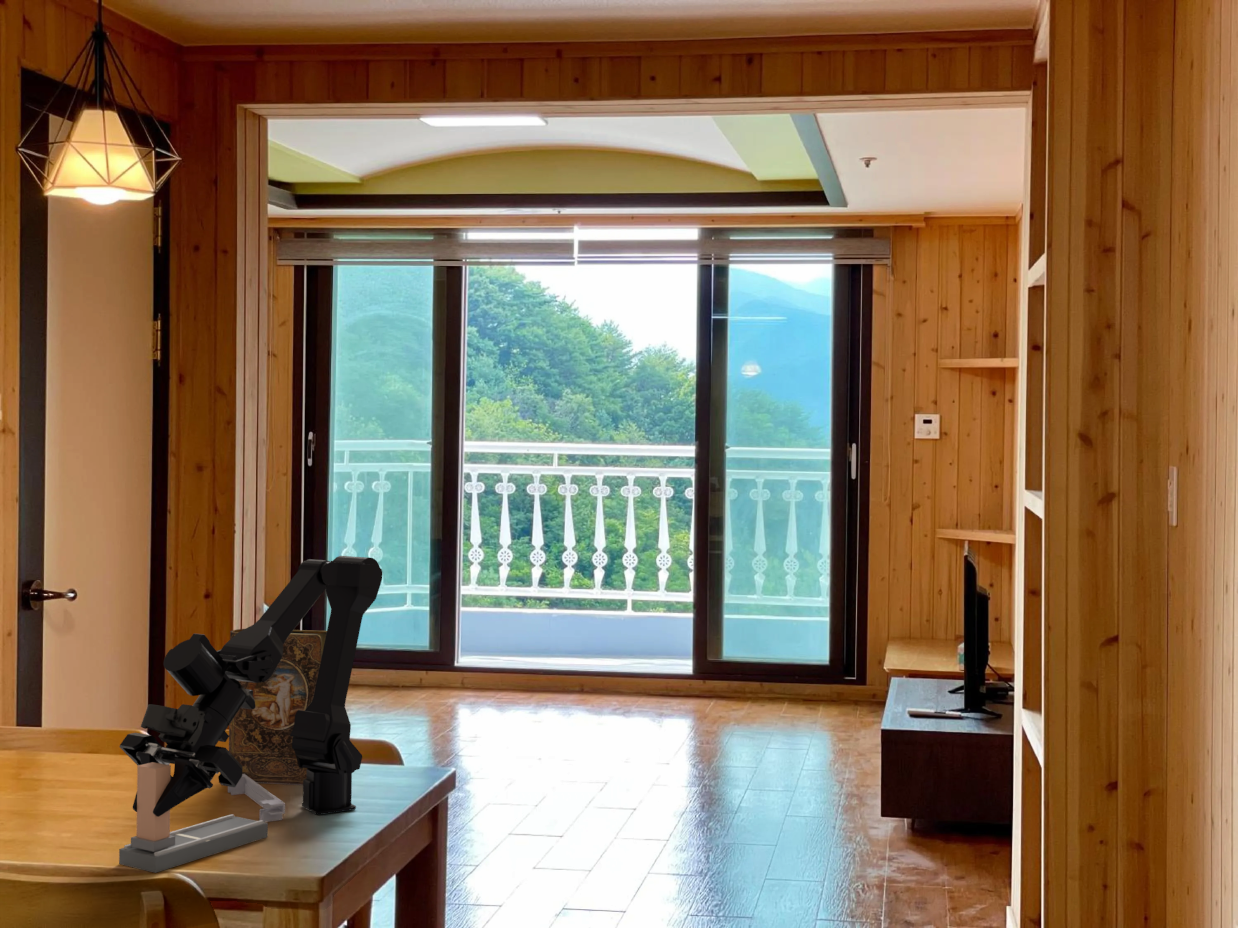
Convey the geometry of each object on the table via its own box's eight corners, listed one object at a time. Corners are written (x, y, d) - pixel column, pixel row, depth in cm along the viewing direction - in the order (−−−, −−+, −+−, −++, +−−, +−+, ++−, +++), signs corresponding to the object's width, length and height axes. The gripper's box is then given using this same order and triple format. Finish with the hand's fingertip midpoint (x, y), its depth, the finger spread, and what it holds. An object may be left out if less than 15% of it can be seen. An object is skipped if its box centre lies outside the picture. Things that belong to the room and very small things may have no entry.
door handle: (225, 794, 218) (226, 775, 218) (244, 792, 219) (244, 773, 219) (265, 825, 199) (265, 805, 199) (284, 823, 201) (285, 803, 201)
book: (223, 781, 225) (226, 632, 225) (236, 774, 230) (238, 628, 230) (319, 785, 223) (321, 634, 223) (329, 777, 229) (332, 630, 229)
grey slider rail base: (232, 829, 196) (232, 812, 196) (267, 836, 193) (267, 819, 193) (119, 863, 179) (119, 845, 179) (155, 872, 175) (155, 854, 175)
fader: (152, 839, 182) (153, 760, 182) (175, 844, 180) (176, 764, 180) (130, 846, 179) (131, 765, 179) (153, 851, 177) (154, 769, 177)
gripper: (131, 674, 187) (62, 768, 178) (227, 687, 178) (160, 787, 168) (175, 721, 194) (111, 815, 185) (270, 736, 185) (207, 835, 175)
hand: (145, 812), depth 178 cm, fingers closed on fader, 3 cm apart
